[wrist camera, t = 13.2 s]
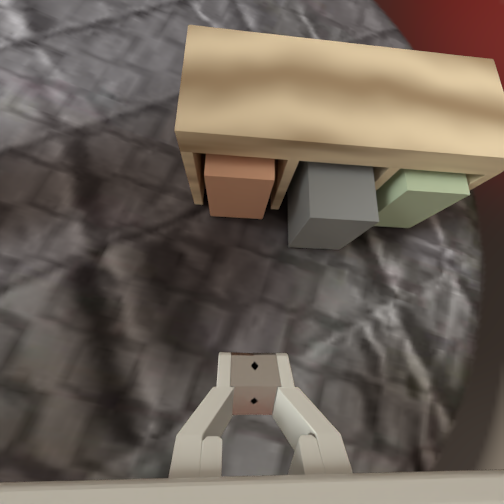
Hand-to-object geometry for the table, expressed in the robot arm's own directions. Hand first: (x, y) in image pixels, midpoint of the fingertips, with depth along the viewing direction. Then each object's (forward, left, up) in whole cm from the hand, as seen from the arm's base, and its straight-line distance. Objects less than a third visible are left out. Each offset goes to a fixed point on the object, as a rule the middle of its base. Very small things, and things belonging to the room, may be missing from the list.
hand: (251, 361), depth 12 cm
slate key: (+14, +3, -11) cm, 18 cm away
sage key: (+21, 0, -11) cm, 24 cm away
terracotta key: (+11, +11, -11) cm, 19 cm away
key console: (+18, +6, -11) cm, 22 cm away
